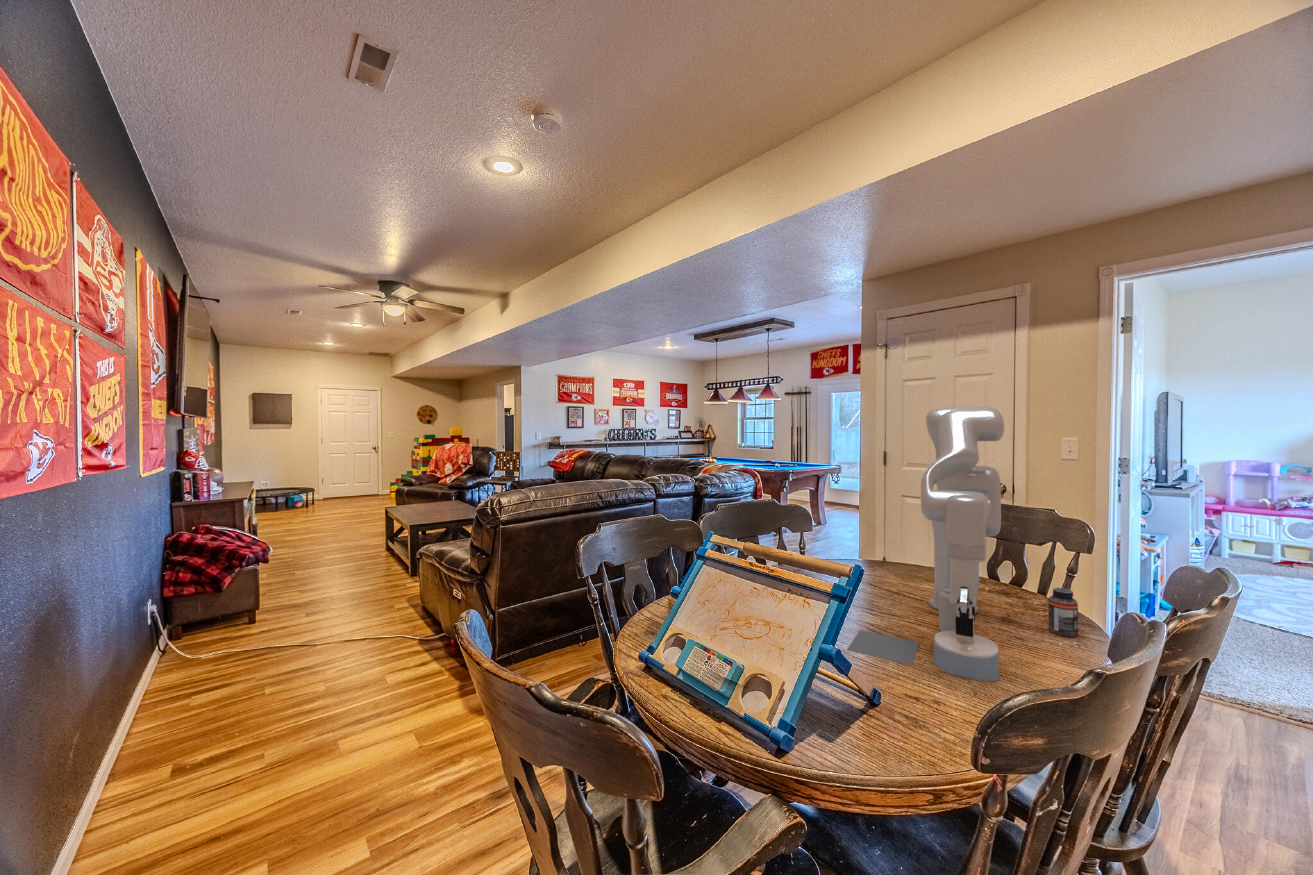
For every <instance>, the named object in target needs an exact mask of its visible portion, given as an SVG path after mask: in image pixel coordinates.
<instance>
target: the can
mask: <svg viewBox="0 0 1313 875" xmlns="http://www.w3.org/2000/svg"><path fill="white" fill-rule="evenodd" d="M959 602H960V599H959ZM956 615H957V602H956V603H953V604H951V603H950V586H944V587H942V590H941V591H940V592H939V610H938V626H939V627H938V629H939V632H941V631H956Z"/></svg>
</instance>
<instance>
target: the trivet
mask: <svg viewBox="0 0 1313 875" xmlns="http://www.w3.org/2000/svg"><path fill="white" fill-rule="evenodd" d="M920 643H921V642H919V641H914V640H911V639H910V640H909V639H904V638H900V637H894V636H890V635H885V634H880V633H877V632H876V633H875V632H870V631H866V630H861V629H859V631H858V632H857V634H856V635H855V637H854V638H853V640H852V641H851V643H850V644H849V646H848V647H847V649H846V651H849V652H855V653H858V654H861V655H862V654H863V655H866V656H867V655H868V656H871V657H875V658H879V659H883V660H888V661H891V662H892V661H893V662H897V663H900V664H906V665H910V666H912V665H913V664H914V660H915V657H916V654H917V651H918V649H919V646H920Z"/></svg>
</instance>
